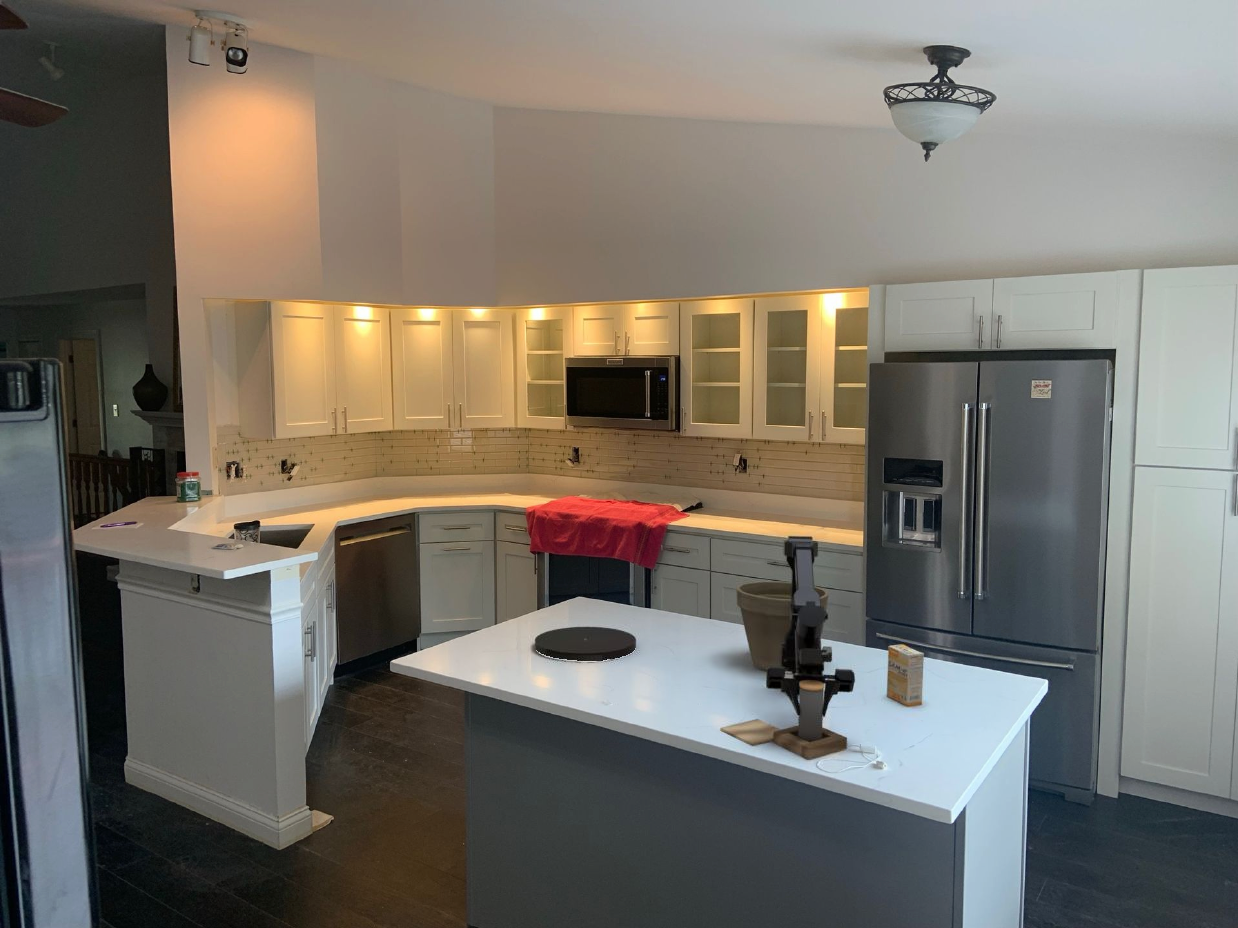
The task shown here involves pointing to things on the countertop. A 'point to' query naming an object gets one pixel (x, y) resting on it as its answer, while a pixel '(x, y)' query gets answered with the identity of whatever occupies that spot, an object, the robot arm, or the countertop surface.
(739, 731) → the cork mat
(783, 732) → the wooden square frame
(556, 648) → the disc
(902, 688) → the supplement box
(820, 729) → the plug
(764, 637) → the plant pot
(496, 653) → the countertop surface
